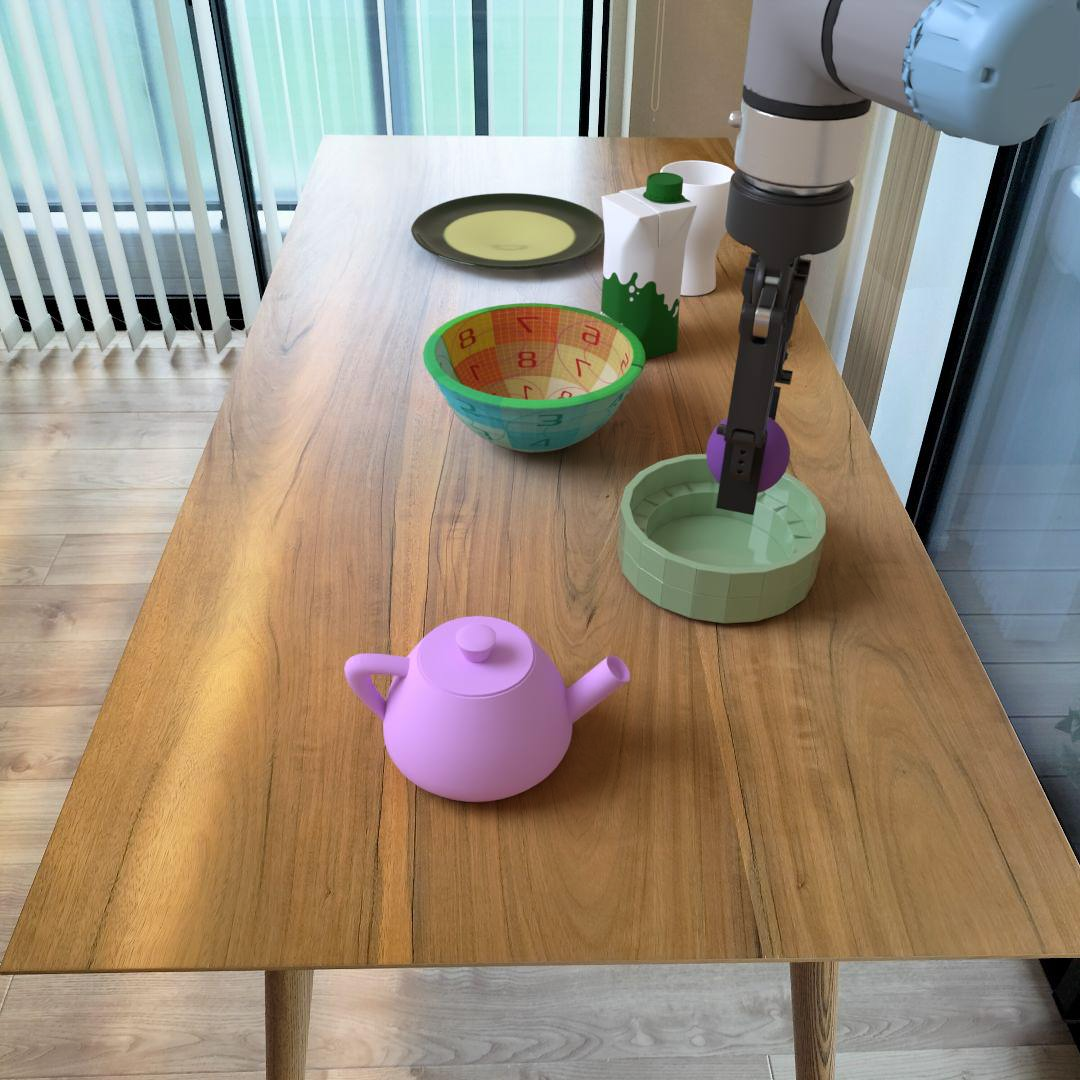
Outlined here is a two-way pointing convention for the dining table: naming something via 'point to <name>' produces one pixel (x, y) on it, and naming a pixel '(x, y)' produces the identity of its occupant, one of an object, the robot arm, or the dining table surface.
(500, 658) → the teapot
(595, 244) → the plate
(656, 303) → the milk carton
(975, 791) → the dining table surface
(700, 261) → the cup
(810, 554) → the green bowl
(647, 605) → the dining table surface
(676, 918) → the dining table surface
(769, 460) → the ball
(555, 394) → the bowl
